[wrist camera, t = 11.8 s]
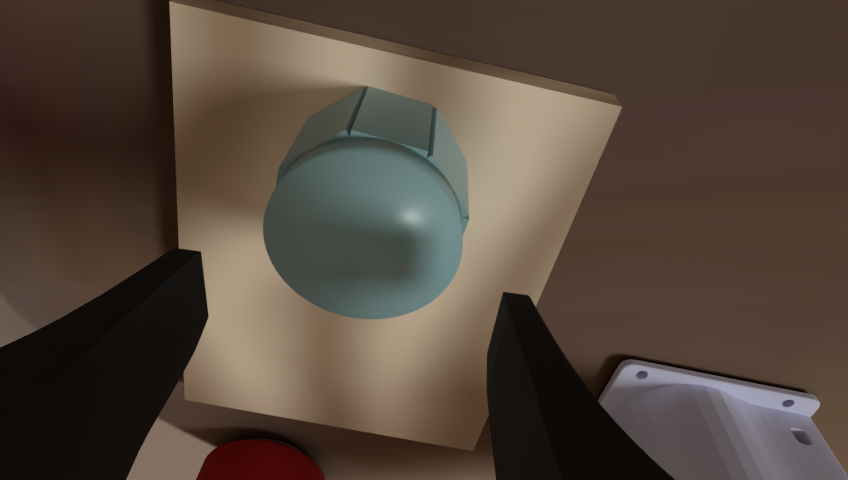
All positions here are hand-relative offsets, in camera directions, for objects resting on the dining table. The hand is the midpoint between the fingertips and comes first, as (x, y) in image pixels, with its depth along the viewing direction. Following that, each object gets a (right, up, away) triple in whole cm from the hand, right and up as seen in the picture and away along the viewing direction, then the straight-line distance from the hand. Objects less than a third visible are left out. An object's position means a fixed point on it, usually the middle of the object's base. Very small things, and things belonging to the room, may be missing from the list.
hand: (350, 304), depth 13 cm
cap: (0, +4, +6) cm, 7 cm away
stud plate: (-1, +1, +9) cm, 9 cm away
